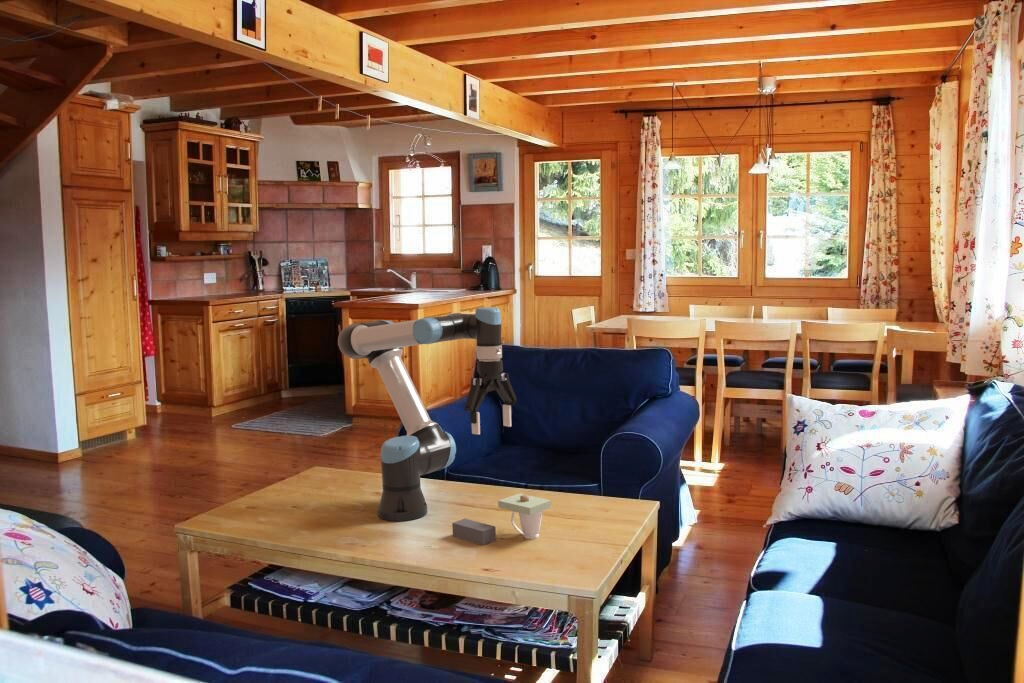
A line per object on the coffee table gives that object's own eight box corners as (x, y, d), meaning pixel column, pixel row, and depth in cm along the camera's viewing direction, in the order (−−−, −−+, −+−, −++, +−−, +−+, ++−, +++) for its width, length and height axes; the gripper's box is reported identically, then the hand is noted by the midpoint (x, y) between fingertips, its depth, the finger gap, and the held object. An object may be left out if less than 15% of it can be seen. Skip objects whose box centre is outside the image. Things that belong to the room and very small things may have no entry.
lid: (498, 507, 245) (497, 496, 245) (519, 500, 252) (519, 489, 252) (530, 515, 237) (529, 503, 237) (551, 507, 244) (551, 496, 244)
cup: (534, 542, 240) (534, 513, 239) (505, 536, 245) (504, 508, 245) (548, 534, 245) (547, 506, 245) (519, 529, 251) (518, 501, 250)
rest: (452, 536, 246) (452, 522, 246) (465, 532, 250) (465, 518, 249) (483, 545, 238) (482, 531, 238) (495, 540, 242) (495, 526, 241)
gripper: (468, 365, 247) (471, 439, 249) (526, 355, 265) (528, 424, 267) (450, 363, 252) (453, 435, 254) (508, 354, 270) (510, 421, 272)
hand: (492, 430), depth 260 cm, fingers open, 13 cm apart
